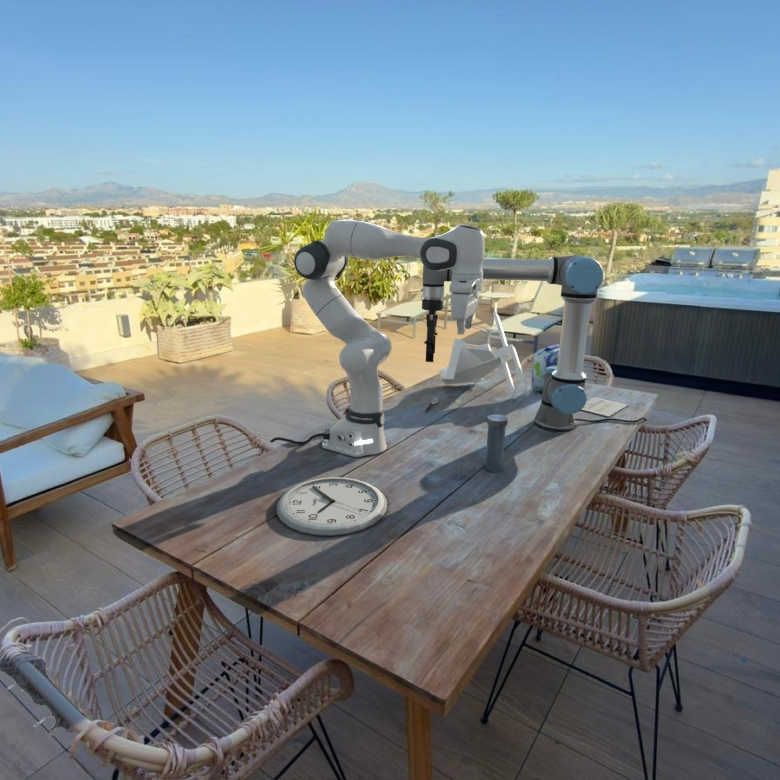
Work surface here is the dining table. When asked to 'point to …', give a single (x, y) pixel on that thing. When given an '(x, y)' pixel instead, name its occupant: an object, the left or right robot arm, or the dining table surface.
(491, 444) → the bottle
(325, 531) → the wall clock
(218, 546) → the dining table surface
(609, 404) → the invitation card
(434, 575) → the dining table surface
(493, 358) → the white plastic object
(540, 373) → the lunch box
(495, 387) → the dining table surface
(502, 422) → the lid
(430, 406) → the fork
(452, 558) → the dining table surface
